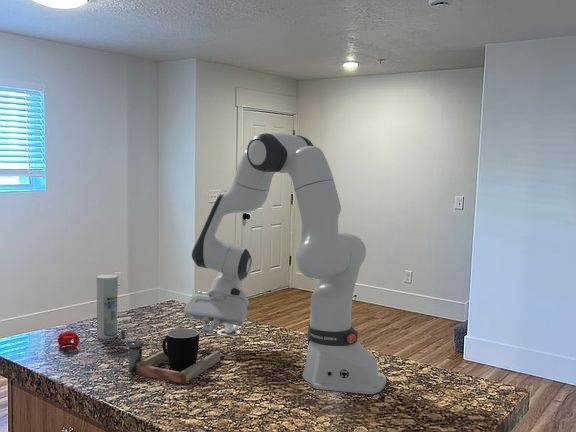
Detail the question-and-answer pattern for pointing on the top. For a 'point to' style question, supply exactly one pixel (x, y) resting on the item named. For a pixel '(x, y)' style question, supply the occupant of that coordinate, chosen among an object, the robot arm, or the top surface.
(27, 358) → the top surface
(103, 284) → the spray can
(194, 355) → the mug
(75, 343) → the cap
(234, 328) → the teacup and saucer
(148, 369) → the bay
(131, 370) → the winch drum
